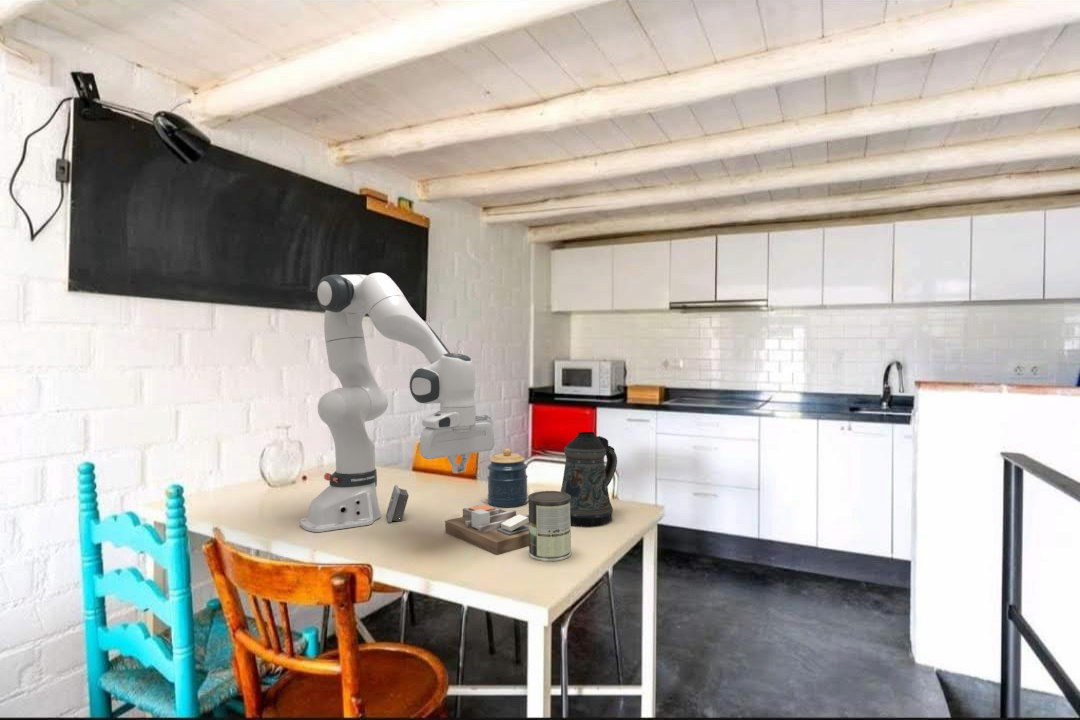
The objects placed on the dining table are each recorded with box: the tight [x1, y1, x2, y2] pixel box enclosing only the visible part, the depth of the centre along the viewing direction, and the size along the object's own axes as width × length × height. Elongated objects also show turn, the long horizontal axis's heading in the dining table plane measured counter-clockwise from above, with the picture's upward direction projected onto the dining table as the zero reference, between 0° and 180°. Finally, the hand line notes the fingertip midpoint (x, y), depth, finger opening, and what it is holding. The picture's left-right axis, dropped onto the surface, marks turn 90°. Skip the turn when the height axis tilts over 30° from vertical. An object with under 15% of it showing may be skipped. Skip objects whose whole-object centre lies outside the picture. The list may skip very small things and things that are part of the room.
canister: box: [486, 447, 529, 508], centre depth 188 cm, size 13×13×18 cm
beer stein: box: [560, 431, 618, 528], centre depth 170 cm, size 16×19×25 cm
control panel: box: [444, 503, 529, 556], centre depth 155 cm, size 18×24×6 cm
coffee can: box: [527, 490, 572, 562], centre depth 140 cm, size 10×10×14 cm
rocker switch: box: [501, 513, 529, 531], centre depth 149 cm, size 6×4×1 cm, turn 130°
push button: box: [469, 504, 494, 511], centre depth 161 cm, size 5×5×2 cm
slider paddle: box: [471, 509, 490, 529], centre depth 151 cm, size 3×4×4 cm
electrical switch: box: [386, 484, 409, 524], centre depth 172 cm, size 9×5×9 cm, turn 18°
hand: (459, 472), depth 147 cm, fingers closed
